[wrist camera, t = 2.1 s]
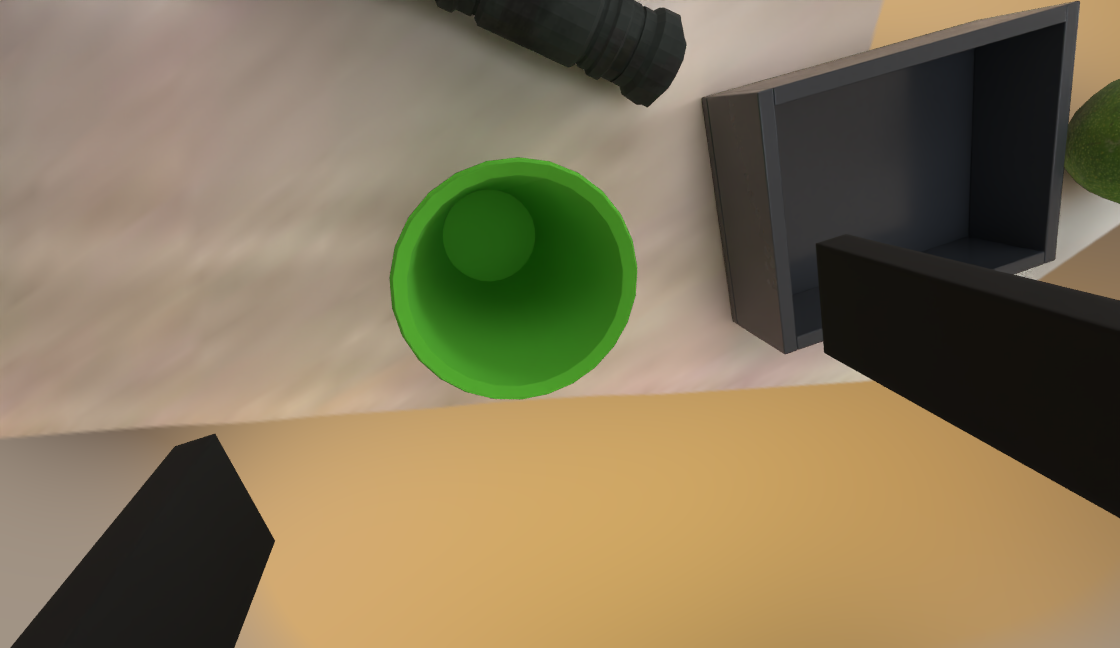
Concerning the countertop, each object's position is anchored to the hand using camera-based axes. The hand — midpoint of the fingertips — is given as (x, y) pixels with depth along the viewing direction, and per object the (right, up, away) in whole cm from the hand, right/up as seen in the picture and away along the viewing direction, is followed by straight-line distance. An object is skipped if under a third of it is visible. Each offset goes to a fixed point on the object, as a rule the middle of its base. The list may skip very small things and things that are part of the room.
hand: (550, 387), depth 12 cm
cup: (-4, +6, +18) cm, 20 cm away
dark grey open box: (+18, +10, +22) cm, 30 cm away
